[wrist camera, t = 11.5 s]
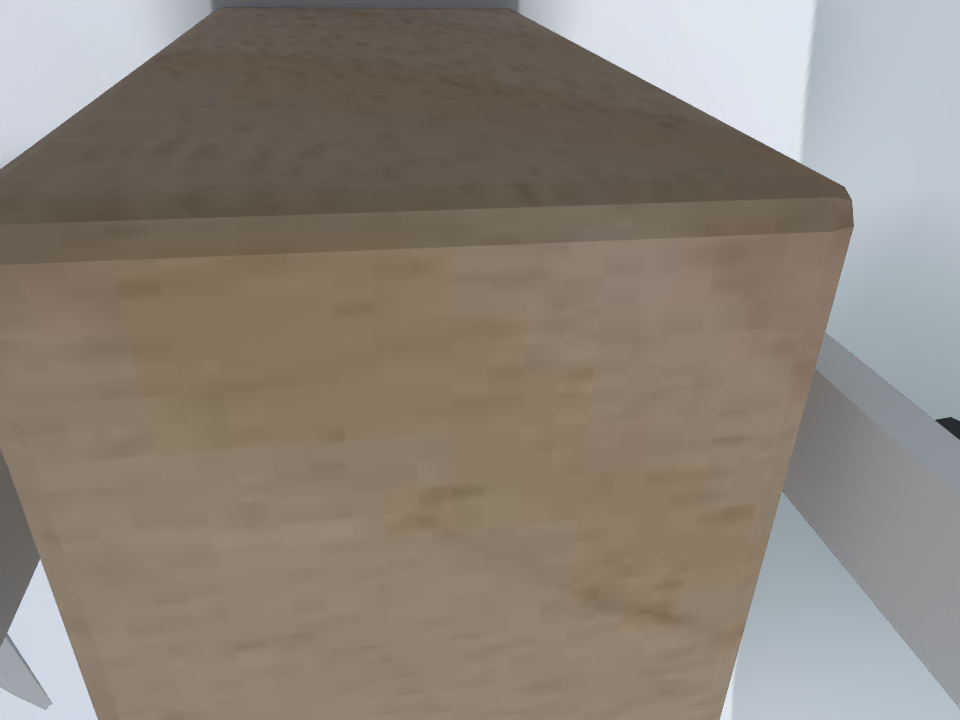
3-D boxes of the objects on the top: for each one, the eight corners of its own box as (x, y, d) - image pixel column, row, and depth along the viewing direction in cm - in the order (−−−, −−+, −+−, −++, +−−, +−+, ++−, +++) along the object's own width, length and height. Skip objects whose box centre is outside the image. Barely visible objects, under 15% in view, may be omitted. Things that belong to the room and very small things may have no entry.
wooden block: (209, 5, 24) (-109, 218, 7) (520, 7, 26) (885, 187, 8) (250, 295, 29) (121, 832, 12) (509, 282, 31) (725, 746, 13)
